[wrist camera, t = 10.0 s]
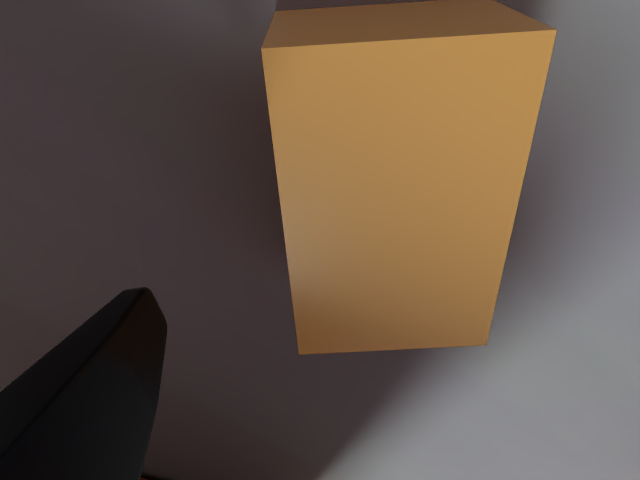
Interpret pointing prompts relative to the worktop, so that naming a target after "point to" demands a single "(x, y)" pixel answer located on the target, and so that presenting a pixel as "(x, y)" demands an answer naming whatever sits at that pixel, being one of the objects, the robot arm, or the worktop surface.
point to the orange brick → (400, 165)
